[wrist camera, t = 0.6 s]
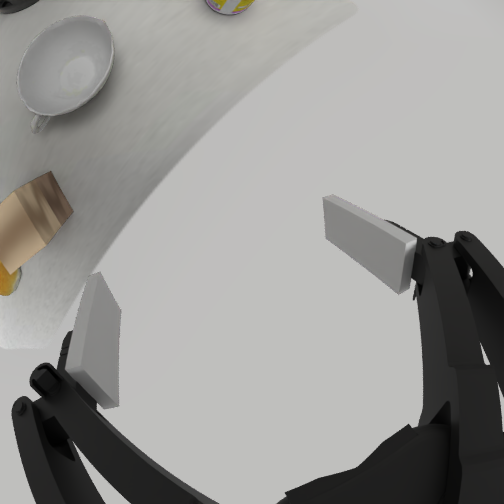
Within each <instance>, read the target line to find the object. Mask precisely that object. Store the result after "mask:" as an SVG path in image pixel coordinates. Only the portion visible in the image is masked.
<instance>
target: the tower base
mask: <svg viewBox="0 0 504 504" xmlns="http://www.w3.org/2000/svg"><path fill="white" fill-rule="evenodd" d="M35 180H36V182H37V184H38V186H39V188H40V190H41V191H42V193H43V195H44V197H45V199H46V200H47V202H48V204H49V206H50V207H51V209H52V211H53V213H54V214H55V216H56V218H57V219H58V221H59V222H60V224H61V226H62V225H63V224H64V222H65V221H66V220H67V219H68V217H69V216H70V215H71V214H72V213H73V210H72V208H71V207H70V205H69V203H68V201H67V200H66V198H65V196H64V194H63V193H62V191H61V189H60V187H59V185H58V183H57V181H56V180H55V178H54V176H53V174H52V172H51V171H50V172H48V173H46V174H44V175H42V176H40V177H38V178H36V179H35Z"/></svg>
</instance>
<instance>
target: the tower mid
mask: <svg viewBox="0 0 504 504" xmlns="http://www.w3.org/2000/svg"><path fill="white" fill-rule="evenodd" d="M60 227H61V224H60V222H59V221H58V219H57V218H56V216H55V214H54V213H53V211H52V209H51V207H50V206H49V204H48V202H47V200H46V199H45V197H44V195H43V193H42V191H41V190H40V188H39V186H38V184H37V182H36V180H35V179H34V180H33V181H31V182H29V183H27V184H25V185H23V186H22V187H20V188H18V189H16V190H15V191H13V192H12V193H11V194H10V195H9V196H8V197H7V198H6V199H5V200H4V201H3V202H2V203H1V204H0V261H1V262H2V264H3V265H4V266H5V268H6V269H7V271H8V272H9V274H10V275H11V274H12V273H13V272H14V271H15V270H17V269H18V268H19V267H20V266H21V265H23V264H24V263H25V262H26V261H27V260H29V259H30V258H31V257H32V256H34V255H35V254H36V253H38V252H39V251H40V250H41V249H43V248H44V247H45V246H47V244H48V243H49V242H50V240H51V239H52V238H53V236H54V235H55V234H56V232H57V231H58V230H59V229H60Z"/></svg>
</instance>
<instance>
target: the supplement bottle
mask: <svg viewBox="0 0 504 504" xmlns="http://www.w3.org/2000/svg"><path fill="white" fill-rule="evenodd" d="M206 1H207V3H208V5H209V6H210V7H211V8H212V9H213V10H215V11H217V12H219V13H222V14H237V13H240V12H243V11H244V10H246V9H247V8H248V7H249V6H250V5H251V4H252V3H253V1H254V0H206Z"/></svg>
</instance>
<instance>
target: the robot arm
mask: <svg viewBox="0 0 504 504" xmlns="http://www.w3.org/2000/svg"><path fill="white" fill-rule="evenodd" d="M37 1H39V0H0V12H2V13H13V12H17V11H20V10H22V9H24V8H27V7H29V6H30V5H32V4H34V3H35V2H37ZM323 208H324V219H325V233H326V239H327V240H328V241H330V242H331V243H333V244H334V245H335V246H337V247H338V248H339V249H341V250H342V251H343V252H345V253H346V254H347V255H349V256H350V257H351V258H353V259H354V260H355V261H356V262H358V263H359V264H360V265H362V266H363V267H364V268H366V269H367V270H368V271H369V272H371V273H372V274H373V275H375V276H376V277H377V278H378V279H380V280H381V281H382V282H383V283H385V284H386V285H387V286H388V287H390V288H391V289H392V290H393V291H395V292H396V293H397V294H398V295H399V294H401V293H403V292H404V291H406V290H408V289H409V288H410V282H411V278H412V279H414V280H415V281H416V285H415V290H414V295H413V300H415V297H417V303H418V312H419V320H420V331H421V343H422V359H423V409H422V413H421V416H420V419H419V424H418V427H414V428H411V426H410V425H409V424H408V425H406V426H405V427H404V428H402V429H401V430H399V431H398V432H397V433H395V434H394V435H392V436H391V437H390V438H388V439H387V440H385V441H384V442H382V443H381V444H380V446H378V448H377V449H376V450H375V451H374V452H373V453H372V454H371V455H370V456H369V457H368V458H366V460H365V461H363V462H362V463H361V464H360V465H359V466H358V467H356V468H354V469H351V470H347V471H344V472H341V473H337V474H333V475H329V476H325V477H321V478H318V479H315V480H313V481H311V482H309V483H307V484H304V485H302V486H300V487H297V488H295V489H292V490H290V491H287V492H285V494H286V497H285V498H284V499H282V500H280V501H279V502H278V503H277V504H504V432H503V430H502V415H501V405H500V397H499V390H498V384H499V387H500V390H501V392H502V394H503V397H504V268H503V266H502V265H501V264H500V263H499V262H498V260H497V259H496V258H495V257H494V256H493V255H492V254H491V252H490V251H489V250H488V249H487V248H486V247H485V246H484V245H483V244H482V243H481V242H480V240H478V238H477V237H476V236H474V235H473V234H471V233H470V232H468V231H467V232H466V231H459V232H456V234H455V238H454V241H453V242H449V243H446V242H445V241H444V240H443V239H440V238H438V237H428V238H425V239H423V238H421V237H420V236H418V235H416V234H414V233H412V232H411V231H409V230H406V229H405V228H403V227H400V225H398V224H396V223H394V222H391V221H388V220H383V219H381V218H379V217H377V216H375V215H374V214H372V213H370V212H368V211H366V210H364V209H362V208H360V207H357V206H356V205H354V204H352V203H350V202H348V201H346V200H344V199H342V198H339V197H337V196H335V195H330V196H326V197H323ZM470 269H472V272H473V276H472V277H471V276H470V275H469V273H470ZM120 319H121V309H120V308H119V306H118V304H117V302H116V301H115V299H114V297H113V295H112V293H111V291H110V290H109V288H108V286H107V284H106V282H105V280H104V278H103V276H102V274H101V272H98V273H95V274H92V275H90V276H88V279H87V282H86V285H85V289H84V292H83V295H82V299H81V302H80V306H79V309H78V314H77V317H76V321H75V325H74V329H73V330H72V331H69V332H68V333H67V335H66V337H65V338H64V340H63V343H62V348H61V349H62V350H61V352H60V357H59V361H58V366H57V370H56V369H55V368H54V367H53V366H52V365H51V364H50V363H43V364H40V365H39V366H38V367H36V368H35V370H34V371H33V372H32V374H31V377H30V386H31V387H32V388H33V389H34V390H35V391H36V392H37V393H38V394H39V395H40V396H41V398H40V399H38V400H36V401H34V402H32V401H31V400H30V399H29V398H28V397H26V396H22V397H20V398H18V399H17V400H16V401H15V403H14V404H13V408H12V420H13V426H14V431H15V436H16V440H17V445H18V449H19V453H20V457H21V461H22V464H23V467H24V471H25V474H26V477H27V480H28V483H29V486H30V489H31V492H32V494H33V497H34V499H35V502H36V504H105V502H104V501H103V499H102V497H101V496H100V494H99V492H98V491H97V489H96V487H95V485H94V484H93V482H92V480H91V478H90V476H89V474H88V473H87V471H86V469H85V467H84V465H83V463H82V461H81V459H80V457H79V454H78V452H77V450H76V448H75V446H74V443H75V445H76V446H77V447H78V448H79V450H80V451H81V452H82V453H83V454H84V456H85V457H86V458H87V459H88V460H89V462H90V463H91V464H92V465H93V466H94V467H95V468H96V469H97V471H98V472H99V473H100V474H101V475H102V476H103V477H104V478H105V479H106V480H107V481H108V482H109V483H110V484H111V485H112V486H113V487H114V488H115V489H116V490H117V491H118V492H119V493H120V494H121V495H122V496H123V497H124V498H125V499H126V500H127V501H129V502H130V503H131V504H219V503H217V502H215V501H214V500H212V499H210V498H208V497H207V496H205V495H203V494H202V493H200V492H198V491H197V490H195V489H193V488H192V487H190V486H189V485H187V484H186V483H184V482H183V481H181V480H180V479H178V478H177V477H175V476H174V475H172V474H171V473H170V472H168V471H167V470H165V469H164V468H163V467H161V466H160V465H159V464H157V463H156V462H155V461H153V460H152V459H151V458H149V457H148V456H147V455H146V454H145V453H143V452H142V451H141V450H140V449H138V448H137V447H136V446H135V445H134V444H133V443H131V442H130V441H129V440H128V439H127V438H126V437H125V436H123V435H122V434H121V433H120V432H119V431H118V430H117V429H116V428H115V427H114V426H113V425H112V424H111V423H109V422H108V421H107V420H106V419H105V418H104V417H103V416H102V415H101V414H100V413H99V412H98V411H97V403H98V404H99V405H100V406H101V407H103V409H109V408H114V407H118V406H119V337H120V336H119V335H120ZM480 343H481V345H482V347H483V349H484V351H485V353H486V356H487V358H488V360H489V362H490V365H486V364H485V363H484V359H483V354H482V350H481V345H480ZM497 382H498V383H497ZM73 442H74V443H73Z"/></svg>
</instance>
